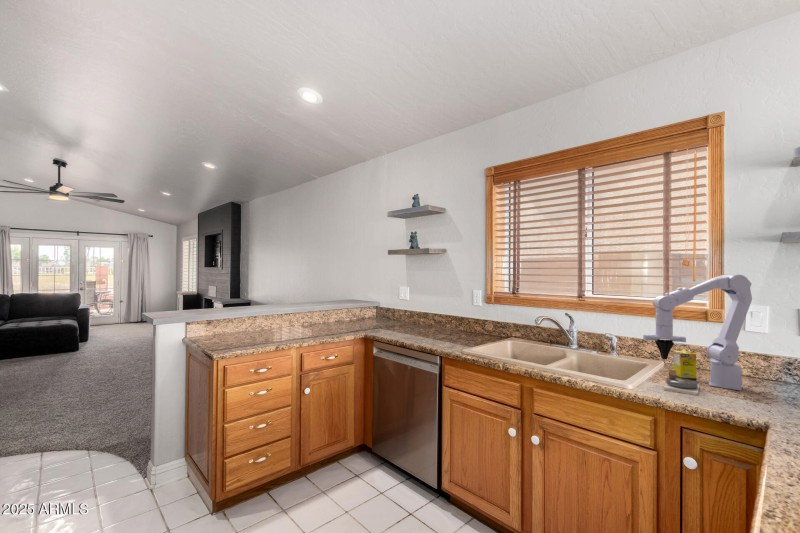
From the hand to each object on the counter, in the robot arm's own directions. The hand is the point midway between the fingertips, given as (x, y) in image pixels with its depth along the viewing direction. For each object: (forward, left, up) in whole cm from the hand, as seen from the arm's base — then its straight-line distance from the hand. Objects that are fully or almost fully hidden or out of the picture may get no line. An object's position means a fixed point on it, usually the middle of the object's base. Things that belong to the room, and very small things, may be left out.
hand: (664, 358), depth 153 cm
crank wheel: (-6, +6, -8) cm, 12 cm away
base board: (-6, +6, -9) cm, 13 cm away
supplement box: (-6, -13, -10) cm, 17 cm away
